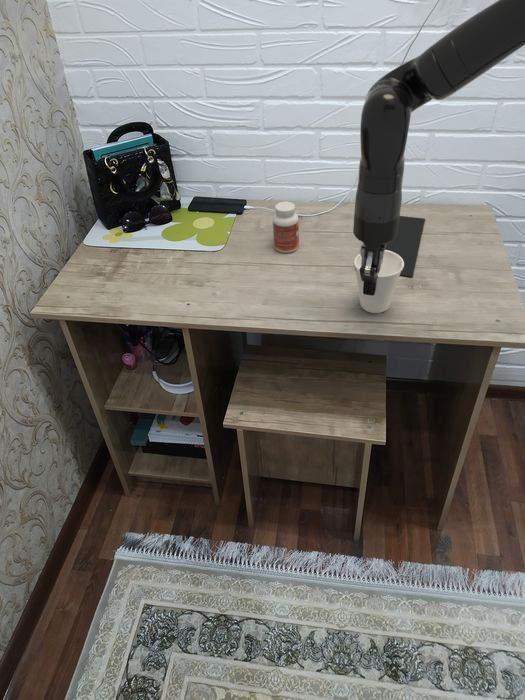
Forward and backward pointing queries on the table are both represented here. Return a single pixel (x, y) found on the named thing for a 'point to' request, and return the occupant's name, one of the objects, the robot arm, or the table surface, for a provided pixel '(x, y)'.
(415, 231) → the mat
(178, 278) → the table surface
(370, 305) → the cup
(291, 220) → the pill bottle
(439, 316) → the table surface
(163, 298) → the table surface
